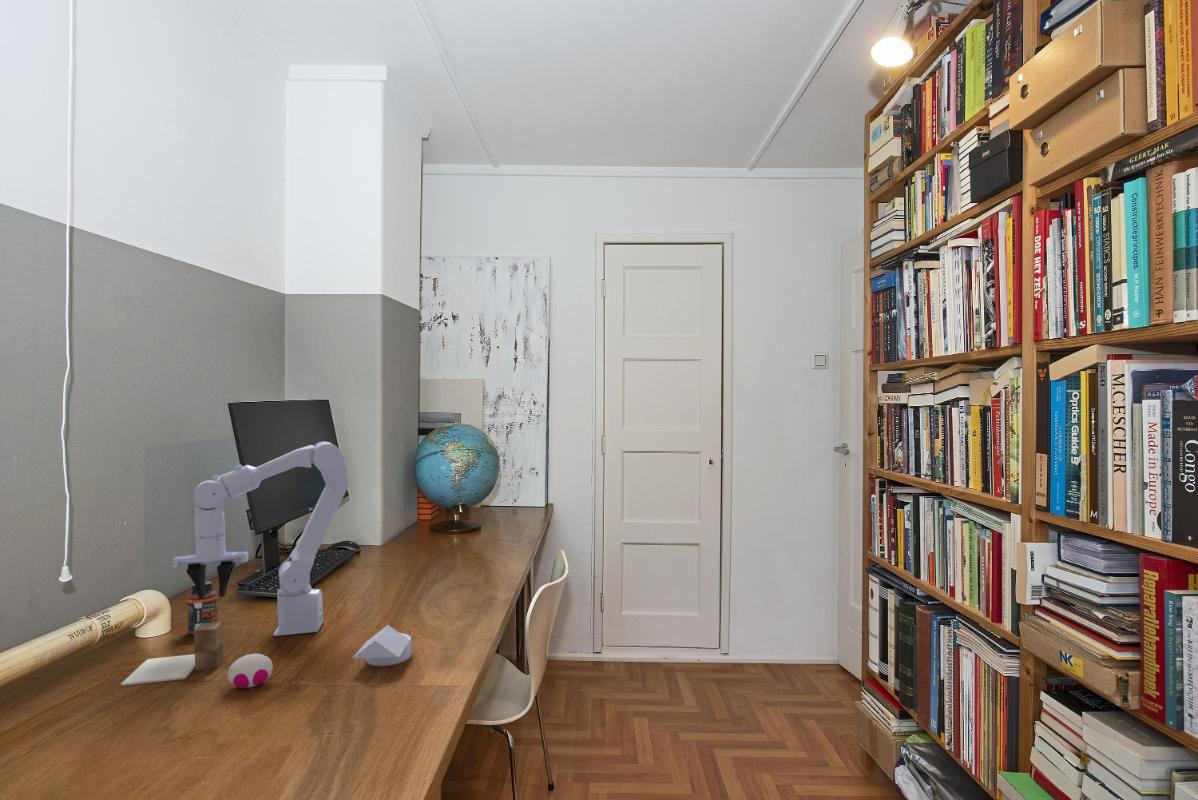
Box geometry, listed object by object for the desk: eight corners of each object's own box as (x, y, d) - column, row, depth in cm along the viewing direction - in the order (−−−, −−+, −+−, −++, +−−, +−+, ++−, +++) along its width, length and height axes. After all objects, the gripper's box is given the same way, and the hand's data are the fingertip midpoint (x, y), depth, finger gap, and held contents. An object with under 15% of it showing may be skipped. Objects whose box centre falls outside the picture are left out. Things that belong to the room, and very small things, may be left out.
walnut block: (223, 660, 140) (222, 621, 139) (217, 667, 136) (215, 628, 136) (202, 662, 139) (200, 623, 139) (195, 670, 135) (193, 630, 135)
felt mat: (206, 654, 143) (206, 653, 142) (185, 678, 131) (185, 676, 131) (147, 660, 140) (147, 659, 140) (120, 685, 128) (120, 683, 128)
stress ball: (229, 711, 124) (226, 690, 120) (229, 673, 130) (226, 652, 126) (275, 700, 127) (273, 679, 124) (273, 664, 133) (271, 643, 129)
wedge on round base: (399, 674, 131) (416, 647, 144) (398, 639, 131) (415, 616, 144) (352, 675, 131) (373, 649, 144) (351, 641, 131) (372, 618, 144)
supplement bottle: (204, 636, 153) (202, 587, 153) (182, 635, 154) (180, 586, 154) (223, 627, 159) (222, 579, 159) (202, 626, 160) (200, 578, 160)
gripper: (251, 529, 154) (253, 588, 155) (180, 533, 151) (182, 594, 151) (242, 535, 147) (244, 597, 148) (168, 540, 144) (170, 603, 144)
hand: (212, 596), depth 149 cm, fingers open, 3 cm apart
